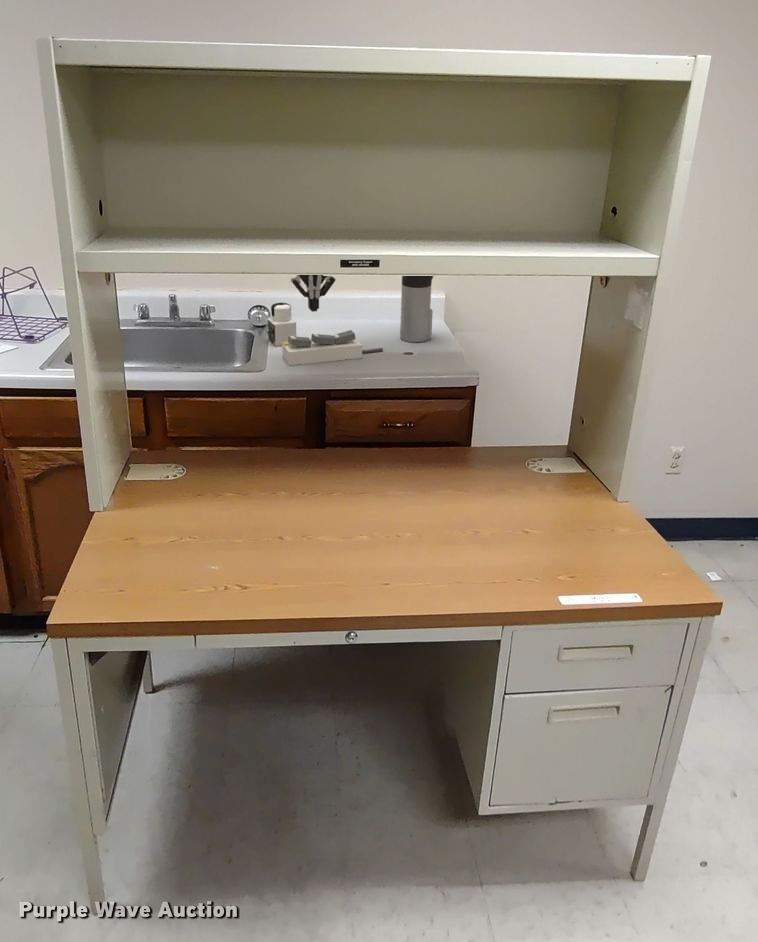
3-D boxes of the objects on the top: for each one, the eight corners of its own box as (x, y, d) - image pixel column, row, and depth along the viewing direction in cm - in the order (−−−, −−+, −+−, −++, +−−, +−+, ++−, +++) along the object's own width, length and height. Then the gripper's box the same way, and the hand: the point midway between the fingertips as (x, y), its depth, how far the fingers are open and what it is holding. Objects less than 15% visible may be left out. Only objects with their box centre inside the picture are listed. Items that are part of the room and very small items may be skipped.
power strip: (377, 347, 233) (377, 332, 231) (386, 355, 226) (387, 340, 224) (282, 356, 223) (282, 341, 221) (289, 365, 217) (289, 350, 215)
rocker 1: (307, 343, 222) (308, 336, 221) (310, 346, 219) (311, 340, 218) (287, 341, 220) (288, 335, 219) (290, 345, 217) (291, 338, 216)
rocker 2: (351, 335, 226) (350, 329, 225) (355, 339, 223) (354, 332, 222) (333, 340, 224) (331, 334, 223) (336, 344, 222) (335, 338, 221)
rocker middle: (330, 341, 224) (331, 334, 223) (333, 344, 221) (334, 338, 220) (311, 339, 222) (312, 333, 221) (314, 343, 219) (315, 336, 218)
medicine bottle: (268, 340, 238) (266, 302, 232) (289, 337, 240) (288, 300, 235) (275, 346, 232) (273, 308, 226) (297, 344, 235) (295, 305, 229)
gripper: (331, 245, 214) (331, 306, 222) (286, 247, 210) (287, 309, 217) (339, 250, 208) (339, 312, 216) (293, 252, 203) (294, 316, 211)
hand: (313, 310), depth 216 cm, fingers closed
